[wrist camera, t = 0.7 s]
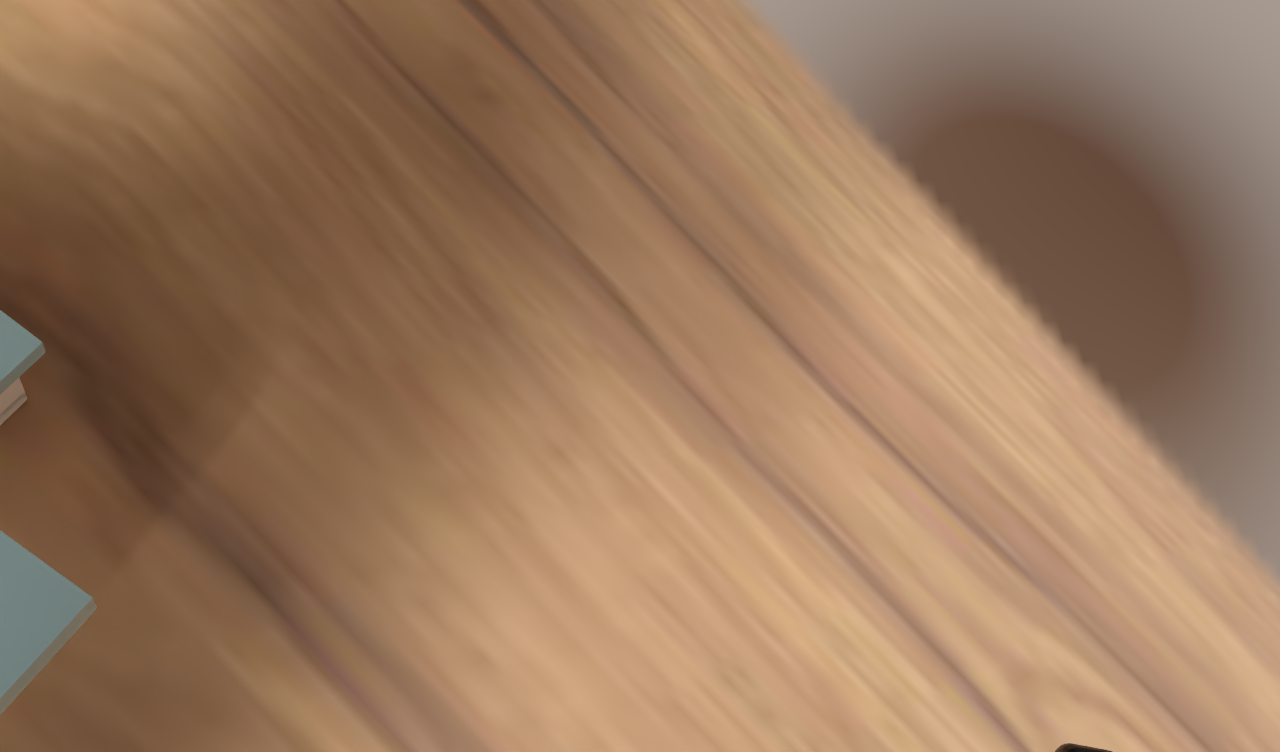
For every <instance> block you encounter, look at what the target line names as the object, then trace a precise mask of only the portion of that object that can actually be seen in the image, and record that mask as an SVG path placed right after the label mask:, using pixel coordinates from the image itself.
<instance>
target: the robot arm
mask: <svg viewBox="0 0 1280 752" xmlns="http://www.w3.org/2000/svg"><path fill="white" fill-rule="evenodd" d="M1055 752H1112V751H1108V750H1103V749H1098V748H1093V747H1087V746H1082V745H1077V744H1071V743H1070V744H1063V745H1061V746H1060V747H1059V748H1057V750H1056V751H1055Z"/></svg>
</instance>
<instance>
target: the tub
mask: <svg viewBox="0 0 1280 752" xmlns="http://www.w3.org/2000/svg"><path fill="white" fill-rule="evenodd" d="M26 400H27V396H26V394H25V391H24V388H23V386H22V383H21V380H20V377H19V378H18V379H17V380H16V381H15V382H14V383H12V384H11V385H10V386H9V387H8V388H7V389H6V390H5V391H4V392H3V393H2V394H1V395H0V425H1V424H2V423H3V422H4V421H5V420H6V419H7V418H8V417H9V416H11V415H12V414H13V413H14V412H15V411H16V410H17V409H18V408H19V407H20V406H21V405H22V404H23V403H24V402H25V401H26Z"/></svg>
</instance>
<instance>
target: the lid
mask: <svg viewBox="0 0 1280 752" xmlns="http://www.w3.org/2000/svg"><path fill="white" fill-rule="evenodd" d="M44 354H45V349H44V345H43V342H42V341H40V340H39V339H38V338H36V337H35V336H34V335H33V334H31V333H30V332H29V331H27V330H26V329H25V328H23V327H22V326H21V325H19V324H18V323H17V322H15V321H14V320H13V319H11V318H10V317H9V316H8V315H6V314H5V313H4V312H2V311H1V310H0V395H1V394H2V393H3V392H4V391H5V390H6V389H7V388H8V387H9V386H10V385H11V384H12V383H14V382H15V381H16V380H17V379H18V378H19V377H20V376H21V375H22V374H23V373H24V372H25V371H26V370H28V369H29V368H30V367H31V366H32V365H33V364H34V363H35V362H36V361H37V360H38V359H39V358H40V357H41V356H43V355H44ZM96 610H97V606H96V604H95V602H94V599H93V597H91V596H90V595H89V594H87V593H86V592H84V591H83V590H82V589H80V588H79V587H78V586H76V585H75V584H73V583H72V582H71V581H69V580H68V579H67V578H65V577H64V576H62V575H61V574H60V573H58V572H57V571H56V570H54V569H53V568H51V567H50V566H49V565H47V564H46V563H45V562H43V561H42V560H40V559H39V558H38V557H36V556H35V555H34V554H32V553H31V552H29V551H28V550H27V549H25V548H24V547H23V546H21V545H20V544H18V543H17V542H16V541H14V540H13V539H12V538H10V537H9V536H7V535H6V534H5V533H3V532H2V531H1V530H0V715H1V714H2V713H3V712H4V711H5V710H6V709H7V708H8V707H9V705H10V704H11V703H12V702H13V701H14V700H15V699H16V698H17V697H18V695H19V694H20V693H21V692H22V691H23V690H24V689H25V688H26V687H27V686H28V684H29V683H30V682H31V681H32V680H33V679H34V678H35V677H36V676H37V675H38V673H39V672H40V671H41V670H42V669H43V668H44V667H45V666H46V665H47V664H48V662H49V661H50V660H51V659H52V658H53V657H54V656H55V655H56V654H57V652H58V651H59V650H60V649H61V648H62V647H63V646H64V645H65V644H66V643H67V641H68V640H69V639H70V638H71V637H72V636H73V635H74V634H75V633H76V632H77V630H78V629H79V628H80V627H81V626H82V625H83V624H84V623H85V622H86V621H87V619H88V618H89V617H90V616H91V615H92V614H93V613H94V612H95V611H96Z"/></svg>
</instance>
